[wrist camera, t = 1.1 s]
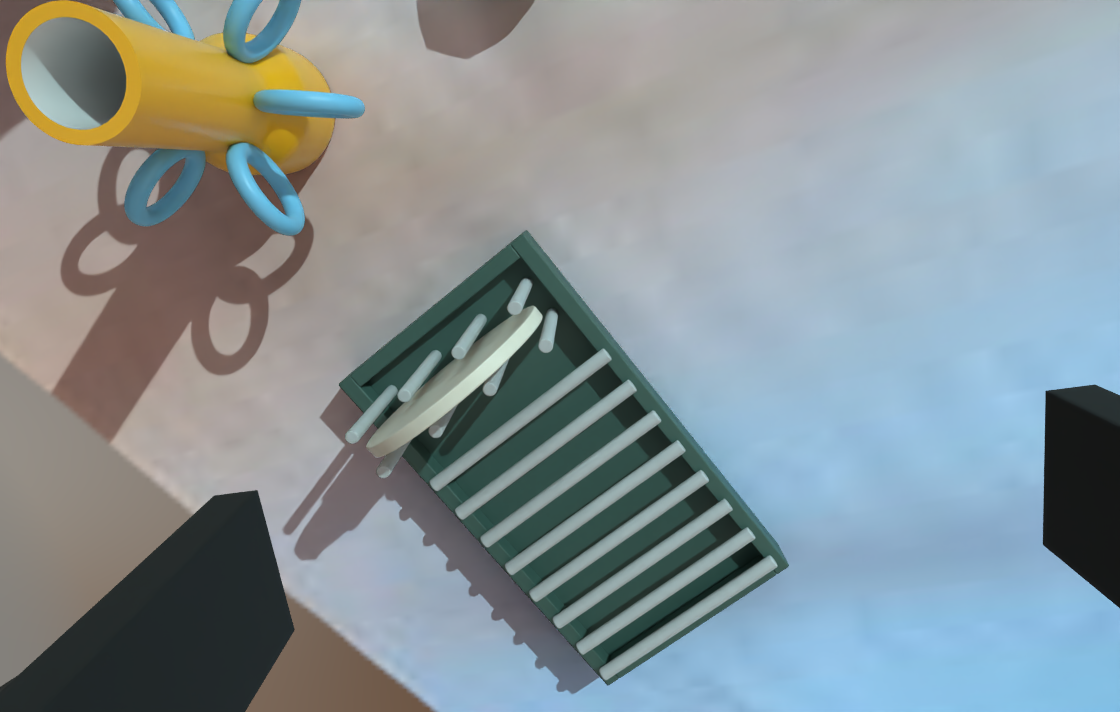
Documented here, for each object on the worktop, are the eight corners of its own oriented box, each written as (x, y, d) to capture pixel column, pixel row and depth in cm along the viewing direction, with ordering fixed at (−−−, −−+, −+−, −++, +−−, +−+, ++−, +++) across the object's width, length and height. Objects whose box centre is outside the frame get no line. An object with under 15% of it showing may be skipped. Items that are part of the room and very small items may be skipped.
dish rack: (351, 372, 40) (268, 446, 29) (526, 229, 37) (504, 253, 27) (606, 658, 43) (614, 816, 33) (778, 544, 41) (845, 673, 31)
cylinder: (161, 214, 38) (-102, 243, 23) (143, -10, 35) (-165, -134, 21) (401, 227, 38) (287, 264, 23) (400, 3, 35) (272, -114, 21)
